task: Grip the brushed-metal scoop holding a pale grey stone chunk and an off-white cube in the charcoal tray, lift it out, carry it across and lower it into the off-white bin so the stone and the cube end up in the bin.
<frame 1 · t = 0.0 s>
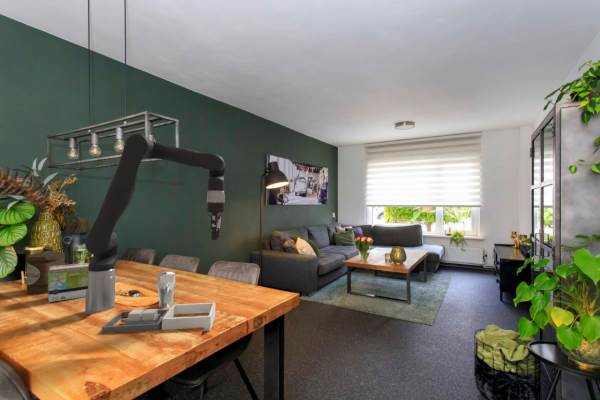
hand: (215, 238, 129), 29 cm above the table, tool pointing down, fingers open, 8 cm apart
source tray: (138, 326, 107), on the table
off-white cube 2: (149, 322, 107), point 1 cm above the table, touching scoop
wooden container: (46, 290, 150), on the table
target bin: (190, 323, 110), on the table
silver metal goblet: (166, 308, 125), on the table
tea box: (69, 297, 139), on the table
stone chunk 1: (136, 322, 107), point 1 cm above the table, touching scoop
scoop: (143, 324, 107), point 1 cm above the table, touching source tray, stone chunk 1, off-white cube 2
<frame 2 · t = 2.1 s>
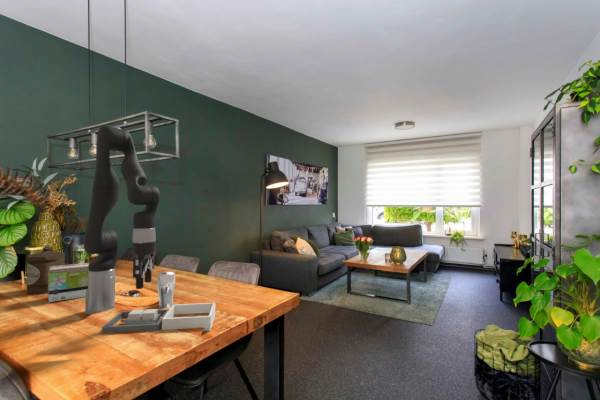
hand: (144, 285, 107), 15 cm above the table, tool pointing down, fingers open, 8 cm apart
nothing on the table moved.
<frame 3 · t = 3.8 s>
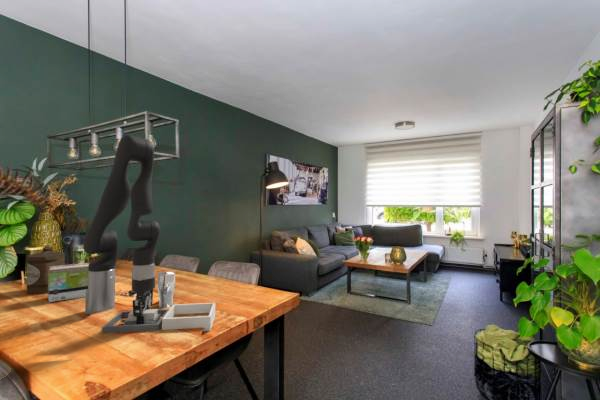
hand: (143, 322, 107), 1 cm above the table, tool pointing down, fingers closed on scoop, 5 cm apart
scoop: (143, 324, 107), point 1 cm above the table, touching gripper, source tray, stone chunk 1, off-white cube 2
everything else where it was.
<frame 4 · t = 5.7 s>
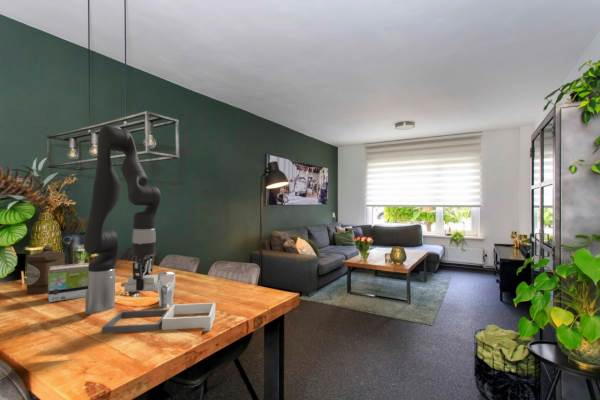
hand: (142, 287, 107), 14 cm above the table, tool pointing down, fingers closed on scoop, 5 cm apart
off-white cube 2: (149, 287, 107), point 14 cm above the table, touching scoop
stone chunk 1: (136, 287, 107), point 14 cm above the table, touching scoop
scoop: (142, 288, 107), point 14 cm above the table, touching gripper, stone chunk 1, off-white cube 2
everything else where it was.
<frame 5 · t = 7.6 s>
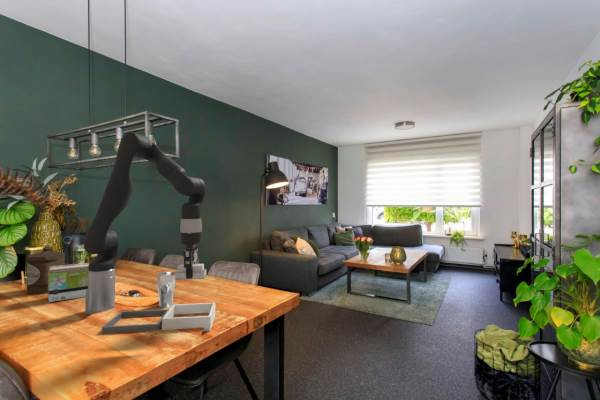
hand: (191, 276, 110), 18 cm above the table, tool pointing down, fingers closed on scoop, 5 cm apart
off-white cube 2: (197, 275, 110), point 18 cm above the table, touching scoop
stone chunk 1: (184, 276, 109), point 18 cm above the table, touching scoop
scoop: (191, 277, 110), point 17 cm above the table, touching gripper, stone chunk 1, off-white cube 2
everything else where it was.
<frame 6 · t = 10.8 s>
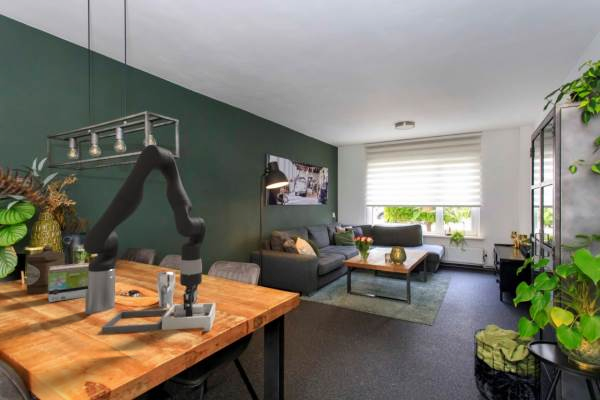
hand: (190, 316, 110), 3 cm above the table, tool pointing down, fingers closed on scoop, 5 cm apart
off-white cube 2: (197, 315, 110), point 3 cm above the table, touching scoop
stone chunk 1: (184, 316, 109), point 3 cm above the table, touching scoop
scoop: (190, 317, 110), point 2 cm above the table, touching gripper, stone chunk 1, off-white cube 2
everything else where it was.
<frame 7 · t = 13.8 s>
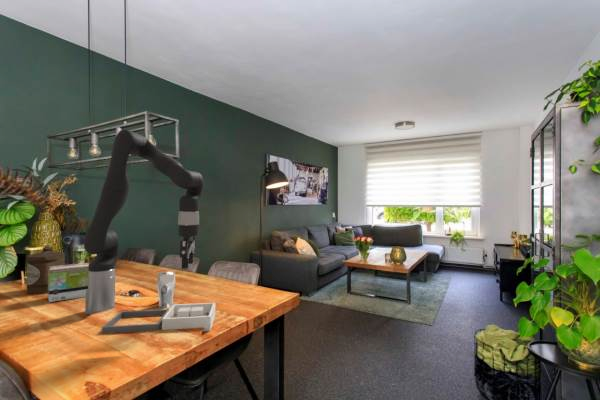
hand: (187, 266, 112), 21 cm above the table, tool pointing down, fingers open, 8 cm apart
off-white cube 2: (197, 319, 110), point 1 cm above the table, touching scoop
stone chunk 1: (184, 320, 109), point 1 cm above the table, touching scoop
scoop: (190, 321, 110), point 1 cm above the table, touching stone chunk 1, off-white cube 2, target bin
everything else where it was.
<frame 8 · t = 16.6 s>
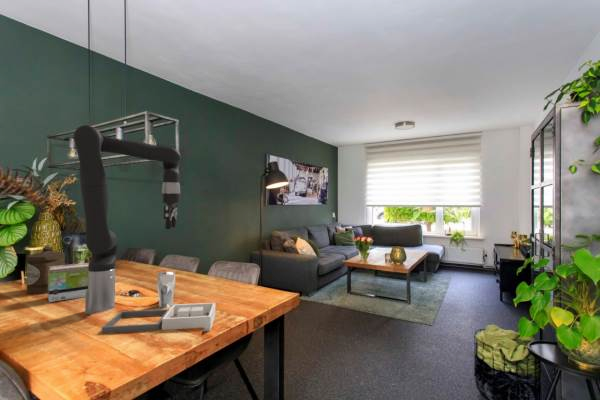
hand: (170, 228, 135), 33 cm above the table, tool pointing down, fingers open, 8 cm apart
nothing on the table moved.
at the end: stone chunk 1 inside the target area on the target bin (2.4 cm from its centre), point 1.4 cm above the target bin's base; off-white cube 2 inside the target area on the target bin (2.2 cm from its centre), point 1.4 cm above the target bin's base; scoop inside the target area on the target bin (0.1 cm from its centre), point 0.8 cm above the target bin's base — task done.
